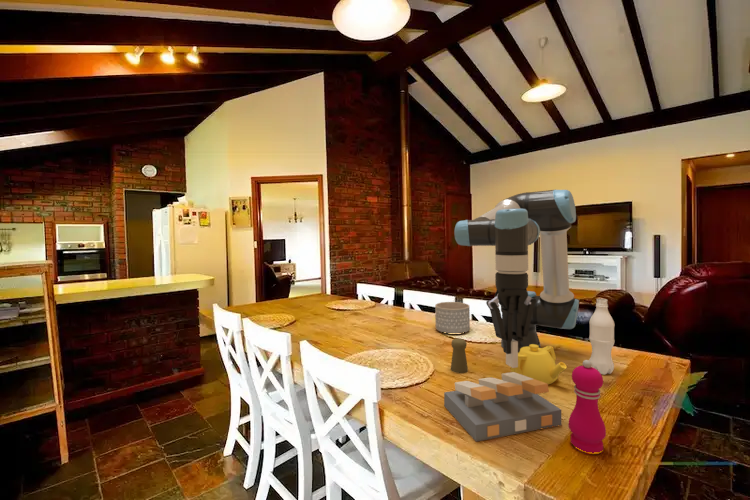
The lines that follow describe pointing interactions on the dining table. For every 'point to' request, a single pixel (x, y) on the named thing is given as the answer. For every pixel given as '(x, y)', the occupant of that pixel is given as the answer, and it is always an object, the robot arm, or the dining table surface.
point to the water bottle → (602, 338)
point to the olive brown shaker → (459, 356)
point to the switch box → (501, 414)
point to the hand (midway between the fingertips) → (511, 365)
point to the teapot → (539, 363)
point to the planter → (452, 317)
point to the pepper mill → (587, 409)
